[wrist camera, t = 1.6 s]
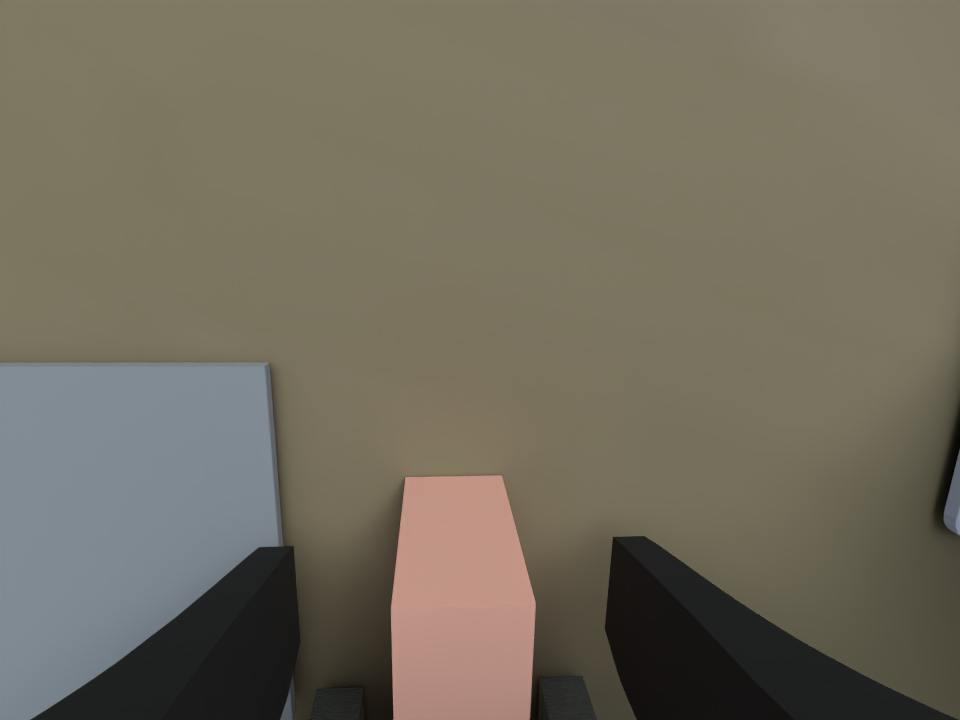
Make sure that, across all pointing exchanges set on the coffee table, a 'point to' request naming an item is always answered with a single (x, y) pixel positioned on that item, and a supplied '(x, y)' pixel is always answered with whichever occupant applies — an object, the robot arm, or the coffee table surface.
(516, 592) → the salmon pink brick
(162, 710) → the robot arm
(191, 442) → the pad
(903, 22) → the coffee table surface
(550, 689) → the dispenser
